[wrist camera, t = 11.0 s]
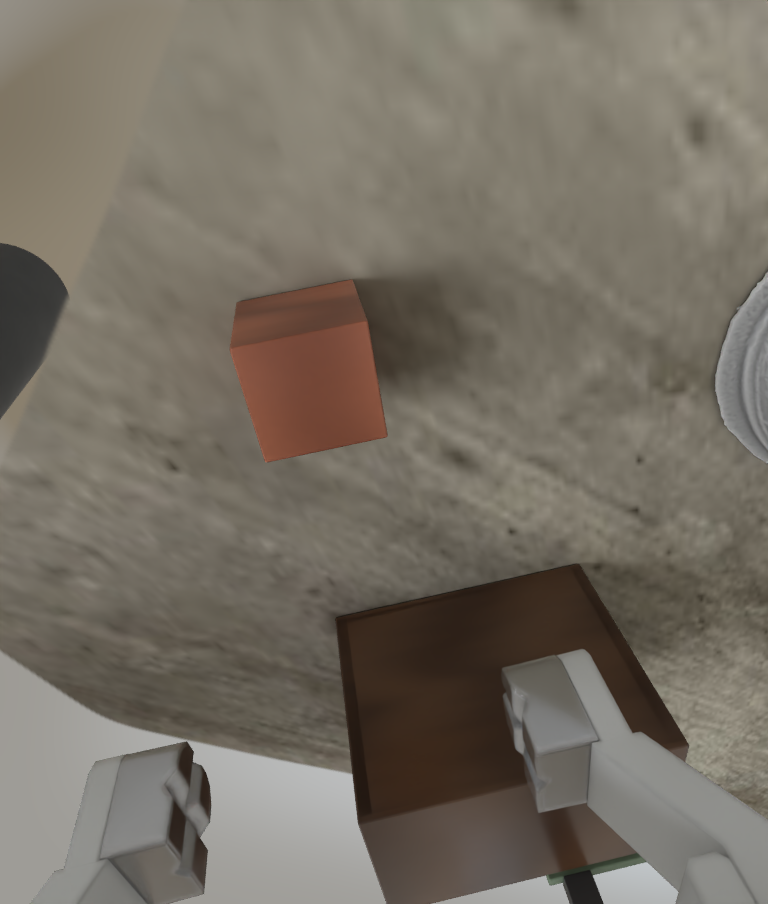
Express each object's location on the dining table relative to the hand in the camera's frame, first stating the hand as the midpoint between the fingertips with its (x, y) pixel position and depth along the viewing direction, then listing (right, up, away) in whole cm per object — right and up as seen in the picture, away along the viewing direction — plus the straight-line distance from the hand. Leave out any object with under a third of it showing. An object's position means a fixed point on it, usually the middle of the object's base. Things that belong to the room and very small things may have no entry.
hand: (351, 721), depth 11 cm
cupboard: (+5, -7, +26) cm, 27 cm away
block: (-3, +9, +14) cm, 17 cm away
